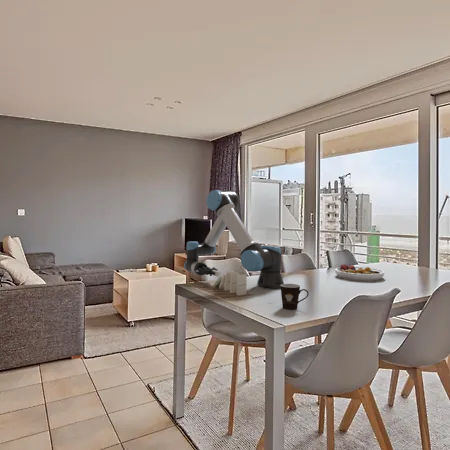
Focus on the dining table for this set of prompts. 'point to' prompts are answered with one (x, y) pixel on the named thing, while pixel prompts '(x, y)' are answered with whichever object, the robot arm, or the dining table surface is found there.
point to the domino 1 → (218, 282)
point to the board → (220, 292)
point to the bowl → (359, 273)
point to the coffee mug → (291, 296)
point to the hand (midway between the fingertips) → (219, 274)
